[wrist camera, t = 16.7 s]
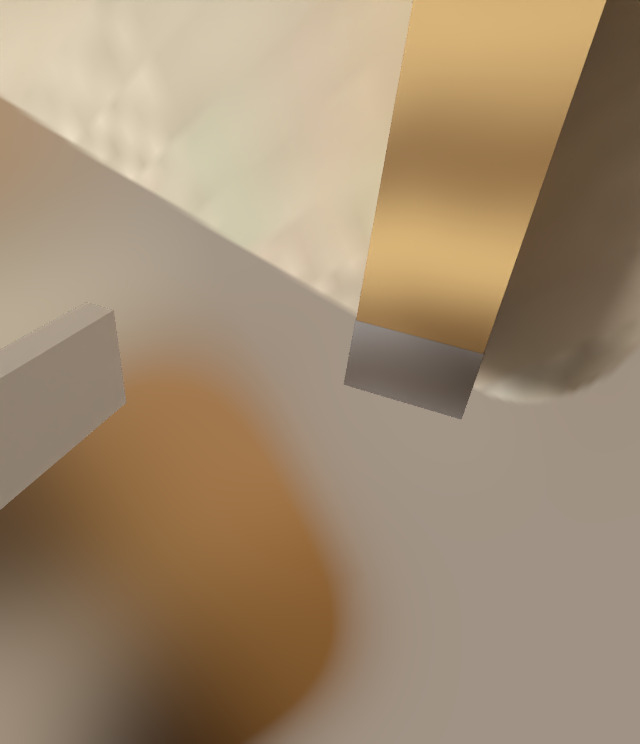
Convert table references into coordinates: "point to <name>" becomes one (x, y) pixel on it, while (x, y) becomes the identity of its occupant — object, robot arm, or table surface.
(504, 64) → the tan long block
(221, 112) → the table surface
